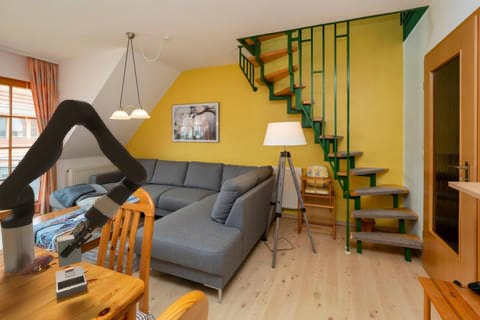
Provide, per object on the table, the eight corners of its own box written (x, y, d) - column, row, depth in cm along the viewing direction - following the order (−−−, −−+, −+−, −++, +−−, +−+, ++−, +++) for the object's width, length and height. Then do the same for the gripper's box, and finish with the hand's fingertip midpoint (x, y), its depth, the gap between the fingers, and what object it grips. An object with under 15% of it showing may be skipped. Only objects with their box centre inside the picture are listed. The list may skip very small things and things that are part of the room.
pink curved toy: (27, 281, 89) (33, 266, 88) (17, 275, 90) (23, 260, 89) (52, 268, 99) (58, 253, 98) (43, 262, 99) (49, 248, 98)
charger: (58, 262, 80) (57, 237, 79) (80, 257, 83) (79, 233, 83) (58, 267, 76) (57, 241, 76) (81, 262, 80) (80, 237, 79)
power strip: (56, 281, 87) (55, 270, 86) (82, 273, 92) (82, 263, 91) (57, 303, 75) (56, 291, 75) (87, 293, 80) (86, 281, 80)
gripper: (91, 200, 88) (51, 240, 82) (97, 209, 77) (51, 257, 71) (108, 211, 92) (70, 251, 86) (116, 222, 81) (74, 268, 75)
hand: (62, 253), depth 78 cm, fingers closed on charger, 4 cm apart
